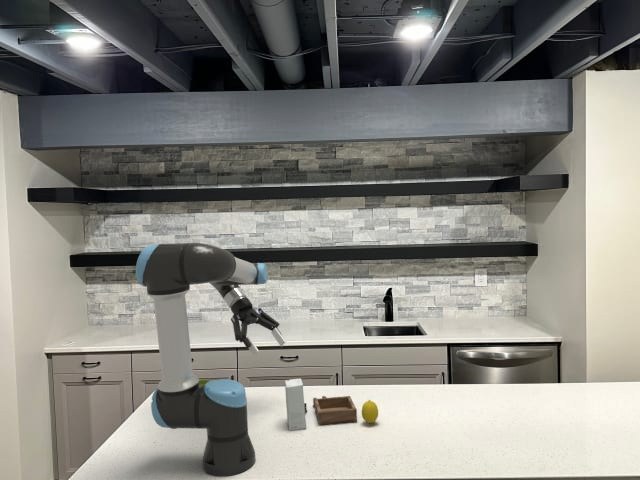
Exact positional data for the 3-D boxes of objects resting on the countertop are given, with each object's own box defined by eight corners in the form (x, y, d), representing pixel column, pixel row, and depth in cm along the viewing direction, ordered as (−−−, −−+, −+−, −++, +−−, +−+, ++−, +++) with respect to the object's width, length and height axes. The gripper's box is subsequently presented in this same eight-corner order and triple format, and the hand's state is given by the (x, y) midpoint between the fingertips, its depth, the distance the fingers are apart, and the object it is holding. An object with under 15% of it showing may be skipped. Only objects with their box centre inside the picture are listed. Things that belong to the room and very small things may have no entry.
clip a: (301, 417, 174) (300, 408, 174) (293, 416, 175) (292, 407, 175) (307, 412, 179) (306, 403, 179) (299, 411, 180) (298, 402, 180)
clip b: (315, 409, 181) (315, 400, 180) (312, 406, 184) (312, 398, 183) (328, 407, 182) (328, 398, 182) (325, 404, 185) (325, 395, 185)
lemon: (382, 423, 166) (381, 399, 166) (372, 428, 162) (371, 404, 162) (368, 419, 170) (367, 396, 170) (358, 424, 166) (357, 401, 166)
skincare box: (306, 429, 164) (304, 385, 164) (288, 431, 163) (286, 386, 163) (303, 419, 173) (301, 377, 172) (286, 421, 172) (284, 378, 171)
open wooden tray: (357, 422, 168) (356, 409, 168) (319, 426, 166) (318, 412, 166) (350, 408, 181) (349, 395, 181) (315, 411, 179) (314, 399, 179)
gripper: (258, 303, 194) (288, 346, 186) (207, 316, 175) (239, 364, 166) (267, 291, 191) (298, 334, 182) (216, 302, 171) (249, 351, 163)
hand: (270, 348), depth 174 cm, fingers open, 13 cm apart
